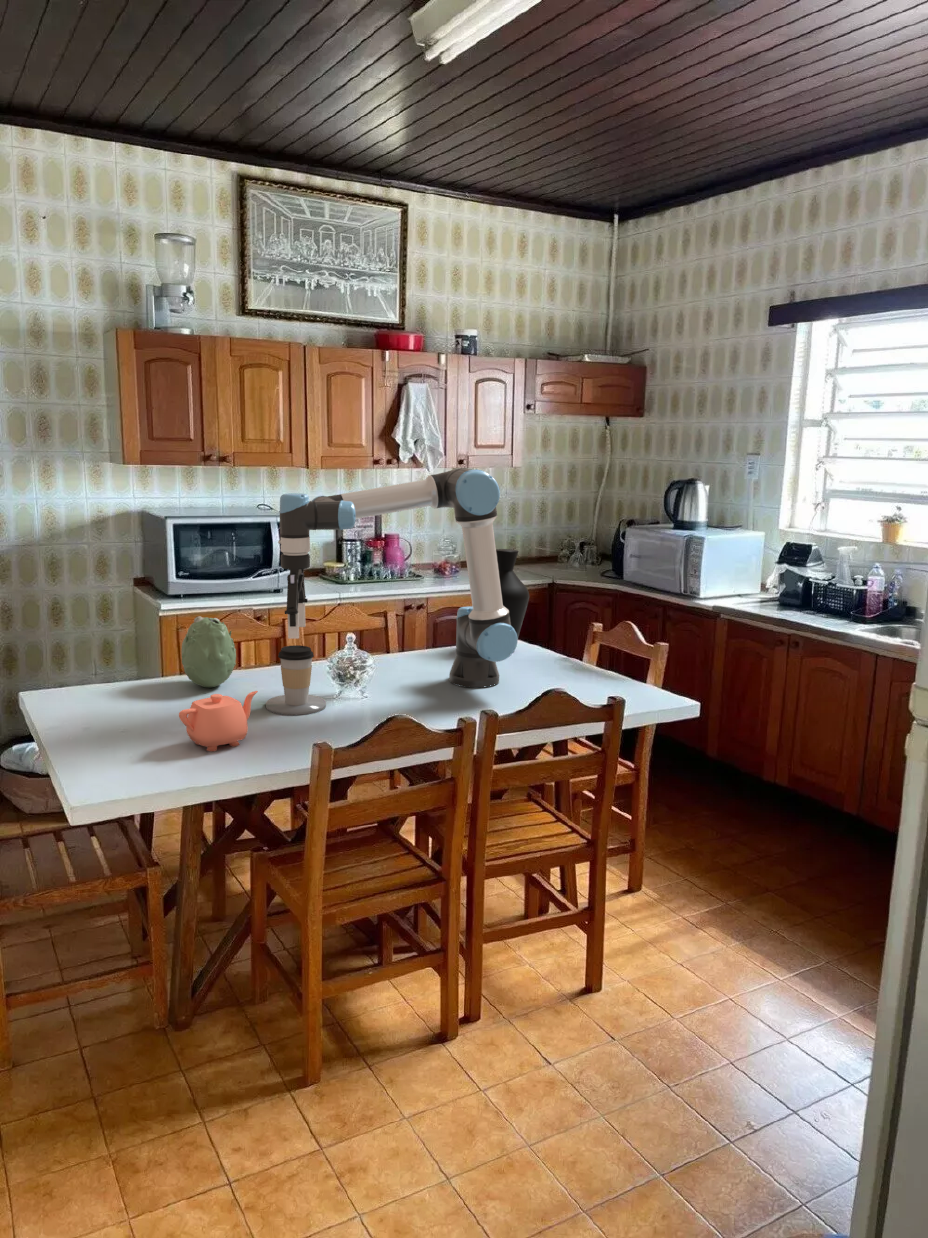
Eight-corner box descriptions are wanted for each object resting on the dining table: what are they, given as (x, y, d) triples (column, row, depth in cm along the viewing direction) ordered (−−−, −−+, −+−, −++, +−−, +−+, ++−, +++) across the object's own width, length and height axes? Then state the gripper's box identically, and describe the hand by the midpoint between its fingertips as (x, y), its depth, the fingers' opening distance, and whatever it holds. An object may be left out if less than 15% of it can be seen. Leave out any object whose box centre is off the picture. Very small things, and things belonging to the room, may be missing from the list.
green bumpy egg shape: (192, 698, 252) (190, 627, 248) (173, 681, 268) (170, 614, 264) (247, 690, 261) (246, 622, 257) (225, 675, 276) (224, 609, 272)
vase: (505, 659, 305) (509, 555, 298) (466, 650, 316) (470, 549, 309) (536, 651, 318) (541, 551, 311) (498, 643, 329) (502, 546, 322)
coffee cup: (317, 698, 252) (317, 645, 249) (308, 708, 243) (308, 653, 240) (284, 696, 253) (283, 643, 250) (274, 706, 244) (273, 651, 241)
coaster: (328, 698, 256) (328, 694, 256) (322, 715, 241) (322, 712, 241) (270, 697, 256) (270, 693, 255) (261, 714, 240) (261, 711, 240)
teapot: (192, 759, 207) (190, 708, 205) (169, 744, 216) (167, 695, 213) (270, 741, 220) (269, 693, 218) (246, 728, 229) (245, 682, 226)
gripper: (287, 546, 252) (289, 622, 256) (273, 560, 227) (275, 643, 232) (314, 546, 252) (316, 622, 256) (303, 560, 228) (305, 643, 232)
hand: (297, 632), depth 244 cm, fingers open, 13 cm apart
